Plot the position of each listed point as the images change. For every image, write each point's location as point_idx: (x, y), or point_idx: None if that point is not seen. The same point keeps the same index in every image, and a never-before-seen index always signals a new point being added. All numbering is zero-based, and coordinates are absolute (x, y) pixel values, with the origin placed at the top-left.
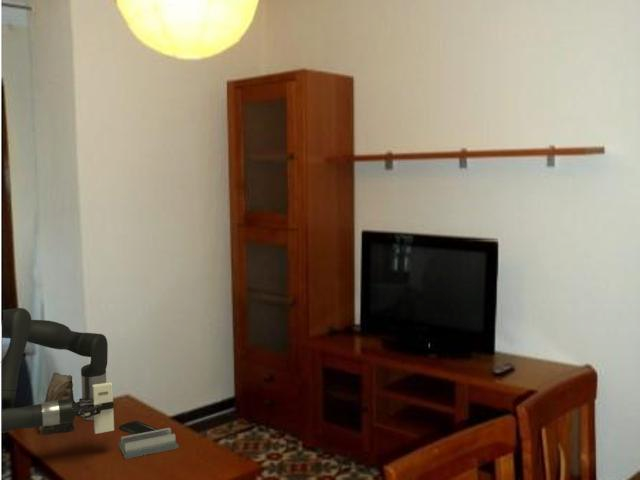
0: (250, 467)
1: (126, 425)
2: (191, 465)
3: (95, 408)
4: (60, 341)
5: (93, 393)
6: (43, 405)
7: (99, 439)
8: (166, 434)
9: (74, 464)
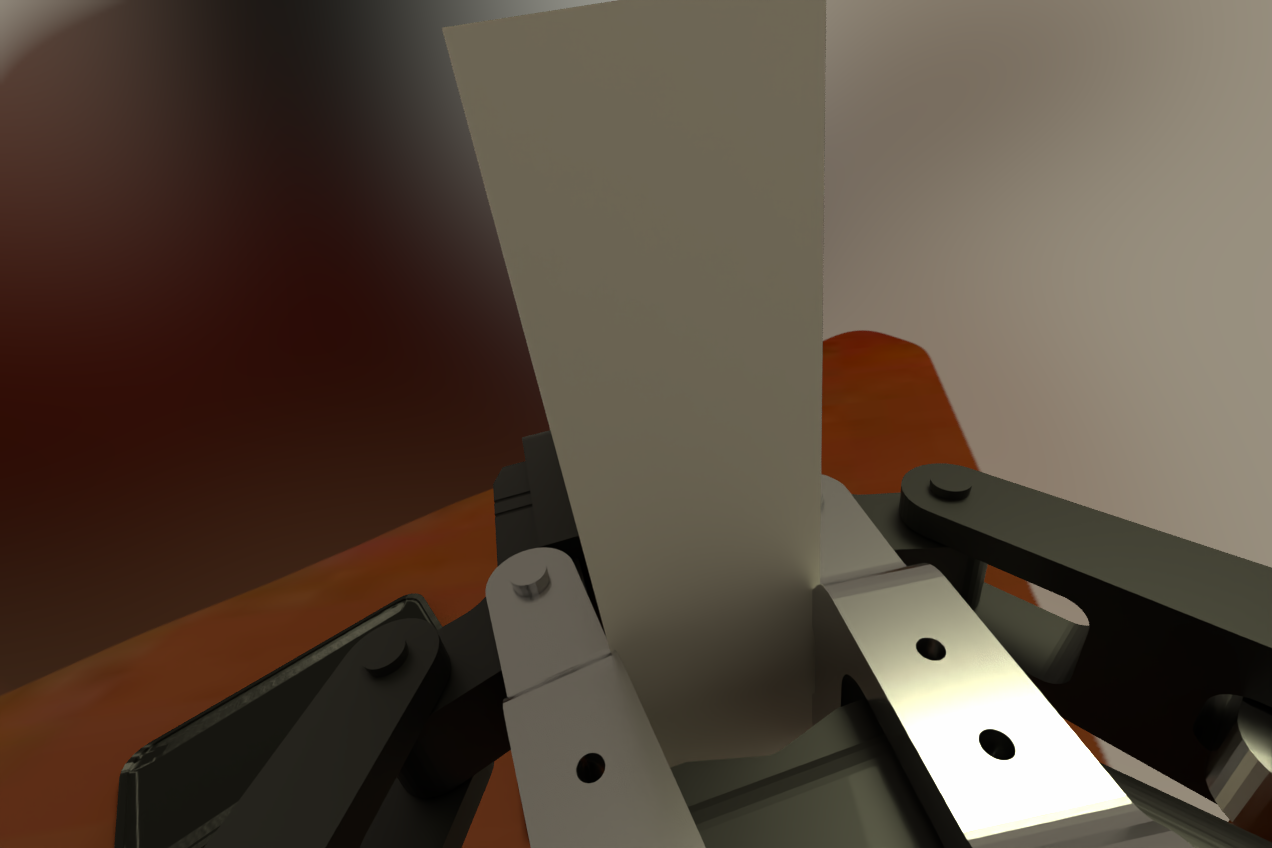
0: (866, 333)
1: (160, 819)
2: (870, 438)
3: (1094, 525)
4: None
5: (744, 333)
6: None
7: None
8: None
9: None
